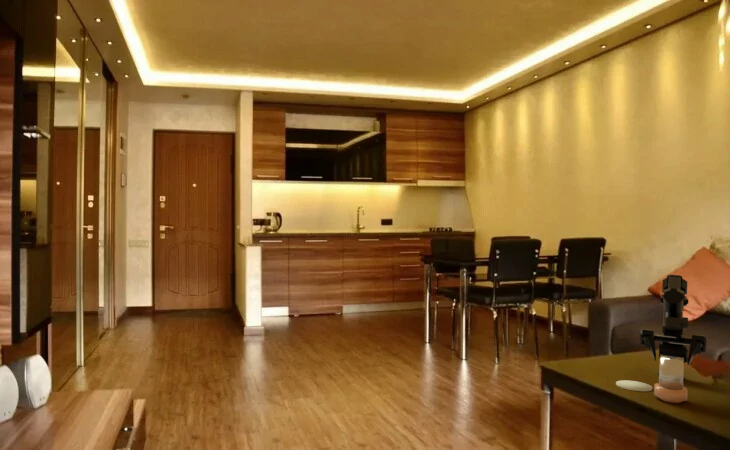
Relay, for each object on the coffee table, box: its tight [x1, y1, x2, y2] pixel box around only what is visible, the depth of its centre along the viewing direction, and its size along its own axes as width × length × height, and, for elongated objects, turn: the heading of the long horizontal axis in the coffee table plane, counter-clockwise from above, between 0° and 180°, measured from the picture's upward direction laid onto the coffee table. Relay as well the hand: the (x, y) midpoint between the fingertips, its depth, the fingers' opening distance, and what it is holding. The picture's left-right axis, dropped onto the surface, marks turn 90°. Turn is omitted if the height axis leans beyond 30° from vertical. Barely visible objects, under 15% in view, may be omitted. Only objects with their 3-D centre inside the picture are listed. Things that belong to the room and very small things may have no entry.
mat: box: [615, 379, 653, 393], centre depth 185 cm, size 11×11×1 cm
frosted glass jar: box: [658, 355, 685, 390], centre depth 172 cm, size 7×7×9 cm
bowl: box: [653, 382, 688, 404], centre depth 172 cm, size 9×9×4 cm
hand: (671, 362), depth 175 cm, fingers open, 9 cm apart
